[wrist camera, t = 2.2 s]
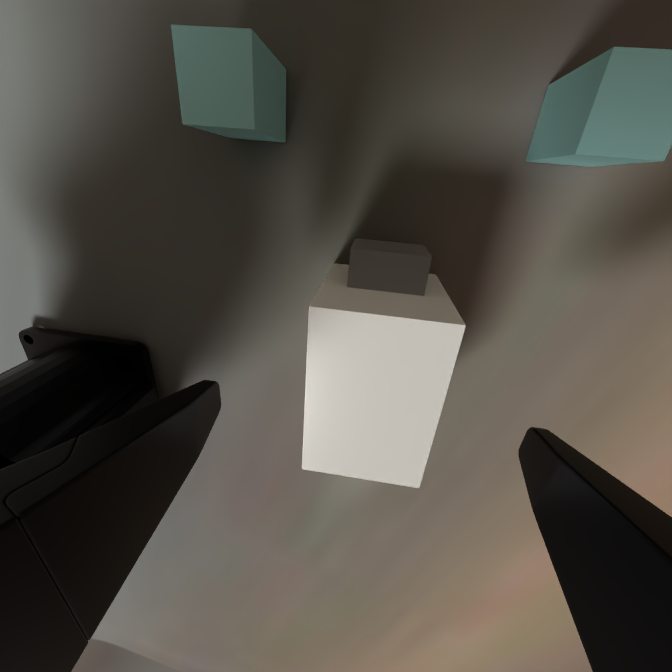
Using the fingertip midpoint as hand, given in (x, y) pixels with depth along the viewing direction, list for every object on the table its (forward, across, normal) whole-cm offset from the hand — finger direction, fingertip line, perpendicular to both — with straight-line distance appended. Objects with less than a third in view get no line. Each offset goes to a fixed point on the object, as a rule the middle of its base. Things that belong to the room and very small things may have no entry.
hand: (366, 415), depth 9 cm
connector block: (+5, 0, 0) cm, 5 cm away
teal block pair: (+5, 0, -8) cm, 10 cm away
